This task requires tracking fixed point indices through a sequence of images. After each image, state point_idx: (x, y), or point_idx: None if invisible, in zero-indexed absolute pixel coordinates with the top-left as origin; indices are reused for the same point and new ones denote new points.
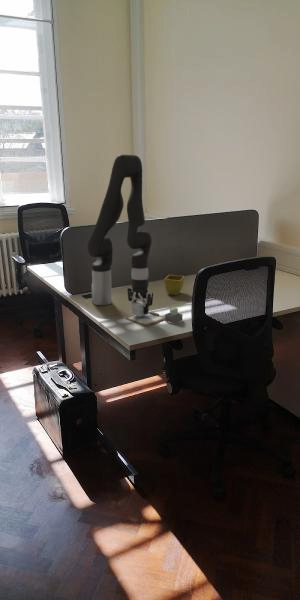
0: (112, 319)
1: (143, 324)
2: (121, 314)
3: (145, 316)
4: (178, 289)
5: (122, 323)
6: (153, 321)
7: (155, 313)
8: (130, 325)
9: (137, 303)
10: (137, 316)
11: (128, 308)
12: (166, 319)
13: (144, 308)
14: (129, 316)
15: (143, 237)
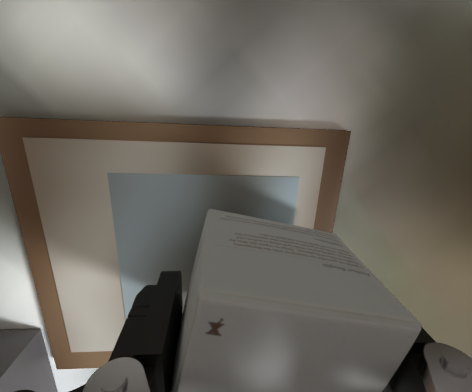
0: (453, 24)
1: (61, 120)
2: (436, 196)
3: None
4: None
5: (287, 2)
6: (57, 246)
7: None
8: (173, 18)
9: (331, 376)
10: None
11: (448, 322)
12: (8, 343)
13: (144, 329)
14: (333, 192)
15: None
